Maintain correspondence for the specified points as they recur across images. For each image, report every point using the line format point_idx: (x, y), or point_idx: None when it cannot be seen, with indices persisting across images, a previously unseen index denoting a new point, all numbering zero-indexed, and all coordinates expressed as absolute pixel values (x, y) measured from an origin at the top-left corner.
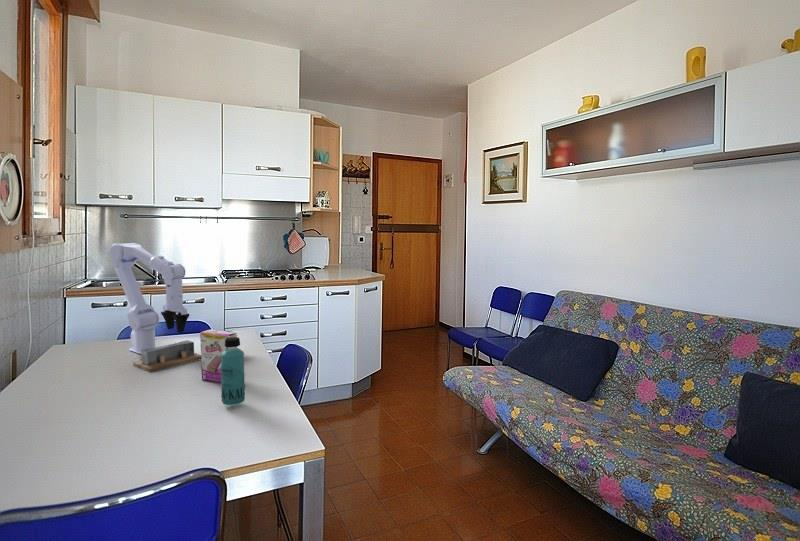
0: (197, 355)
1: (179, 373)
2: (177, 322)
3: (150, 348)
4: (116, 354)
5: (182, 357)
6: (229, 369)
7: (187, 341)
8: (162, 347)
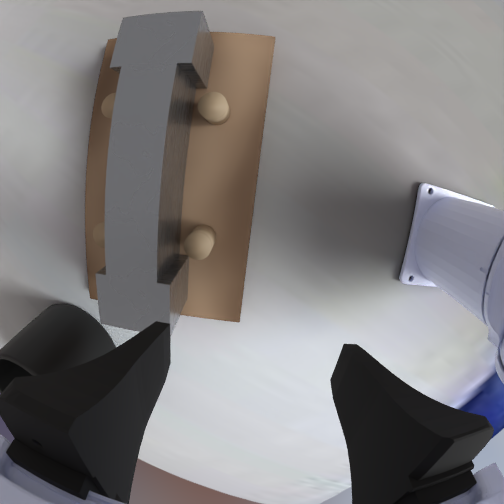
0: None
1: (23, 121)
2: (83, 364)
3: (179, 58)
4: (484, 142)
5: None
6: None
7: (140, 316)
8: (129, 122)
